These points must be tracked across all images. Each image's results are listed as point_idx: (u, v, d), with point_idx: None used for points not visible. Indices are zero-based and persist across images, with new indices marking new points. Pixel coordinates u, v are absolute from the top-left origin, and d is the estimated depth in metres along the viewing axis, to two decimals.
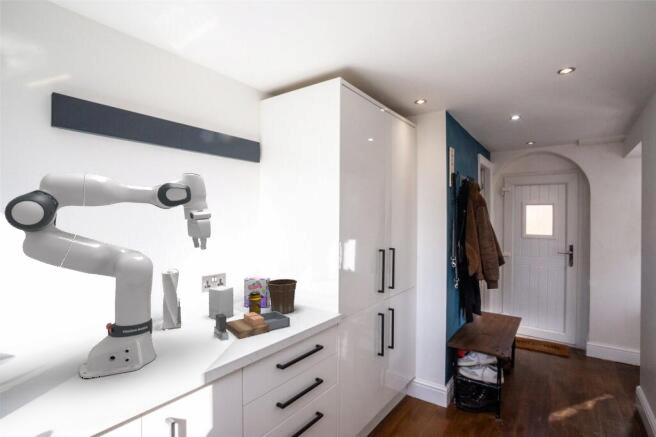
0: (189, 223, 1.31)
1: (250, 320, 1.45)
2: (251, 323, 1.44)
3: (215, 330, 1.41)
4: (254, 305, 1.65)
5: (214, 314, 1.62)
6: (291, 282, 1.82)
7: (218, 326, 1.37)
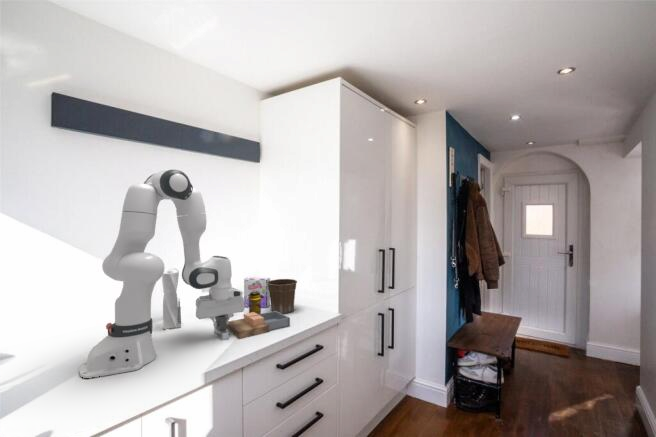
0: (209, 304, 1.34)
1: (250, 320, 1.45)
2: (251, 323, 1.44)
3: (215, 330, 1.41)
4: (254, 305, 1.65)
5: None
6: (291, 282, 1.82)
7: (218, 326, 1.37)
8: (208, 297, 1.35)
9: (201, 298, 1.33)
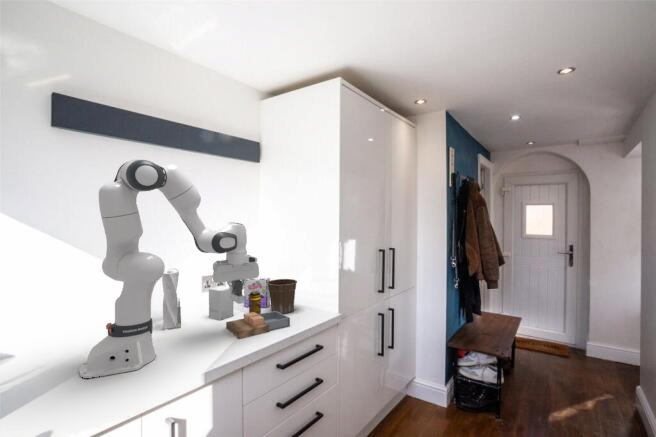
0: (226, 268, 1.38)
1: (250, 320, 1.45)
2: (251, 323, 1.44)
3: (231, 295, 1.45)
4: (254, 305, 1.65)
5: (214, 314, 1.62)
6: (291, 282, 1.82)
7: (234, 290, 1.41)
8: (224, 262, 1.39)
9: (218, 262, 1.38)
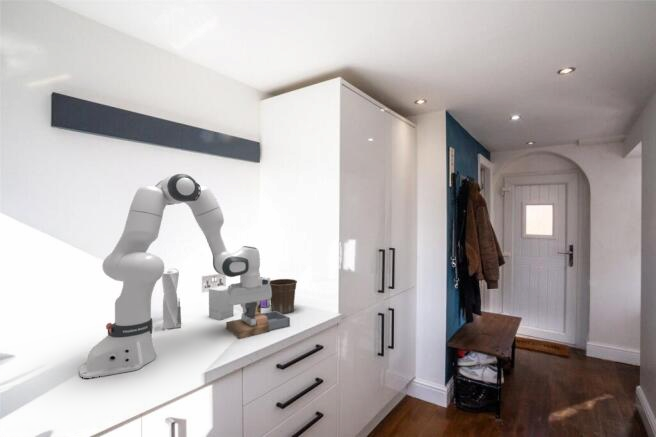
0: (240, 291, 1.42)
1: None
2: None
3: (243, 316, 1.49)
4: None
5: (214, 314, 1.62)
6: (291, 282, 1.82)
7: (247, 312, 1.45)
8: (239, 285, 1.43)
9: (232, 286, 1.41)
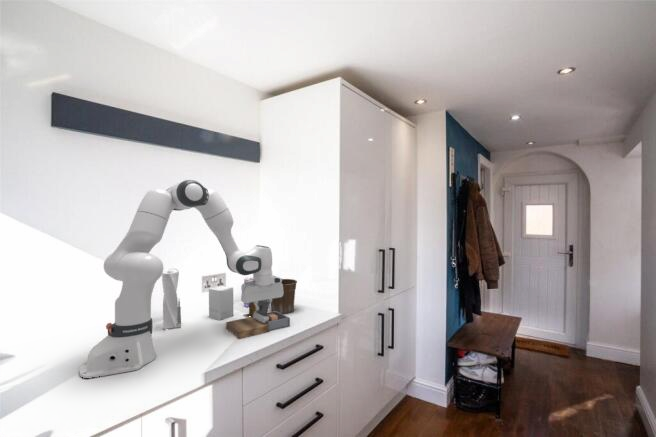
0: (253, 289, 1.46)
1: (271, 314, 1.51)
2: (271, 315, 1.49)
3: (255, 314, 1.52)
4: (254, 305, 1.65)
5: (214, 314, 1.62)
6: (291, 282, 1.82)
7: (260, 310, 1.49)
8: (252, 283, 1.47)
9: (246, 284, 1.45)
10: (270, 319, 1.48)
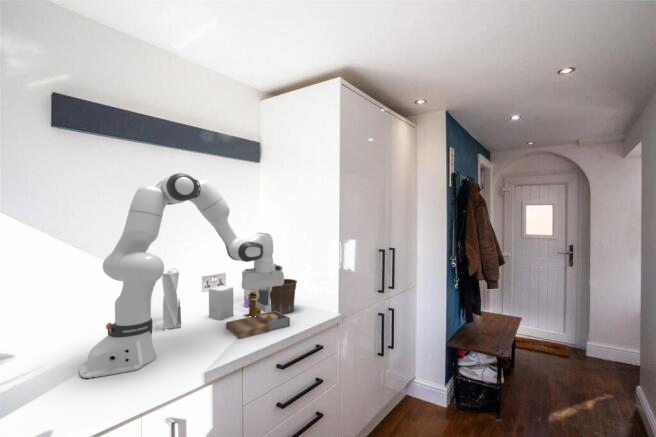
0: (254, 276, 1.46)
1: (271, 314, 1.51)
2: (271, 315, 1.49)
3: (257, 304, 1.52)
4: (254, 305, 1.65)
5: (214, 314, 1.62)
6: (291, 282, 1.82)
7: (261, 299, 1.48)
8: (253, 270, 1.47)
9: (247, 270, 1.45)
10: (270, 319, 1.48)
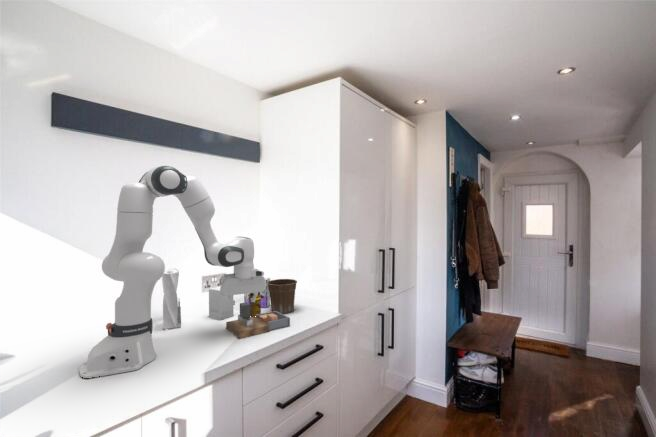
0: (233, 282, 1.40)
1: (271, 314, 1.51)
2: (271, 315, 1.49)
3: (239, 318, 1.48)
4: (254, 305, 1.65)
5: (214, 314, 1.62)
6: (291, 282, 1.82)
7: (242, 314, 1.44)
8: (232, 275, 1.41)
9: (225, 276, 1.39)
10: (270, 319, 1.48)
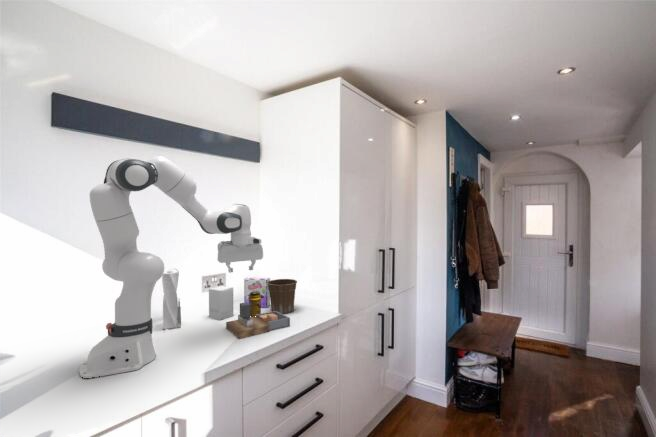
0: (230, 249, 1.39)
1: (271, 314, 1.51)
2: (271, 315, 1.49)
3: (239, 318, 1.48)
4: (254, 305, 1.65)
5: (214, 314, 1.62)
6: (291, 282, 1.82)
7: (242, 314, 1.44)
8: (229, 243, 1.40)
9: (222, 243, 1.39)
10: (270, 319, 1.48)
